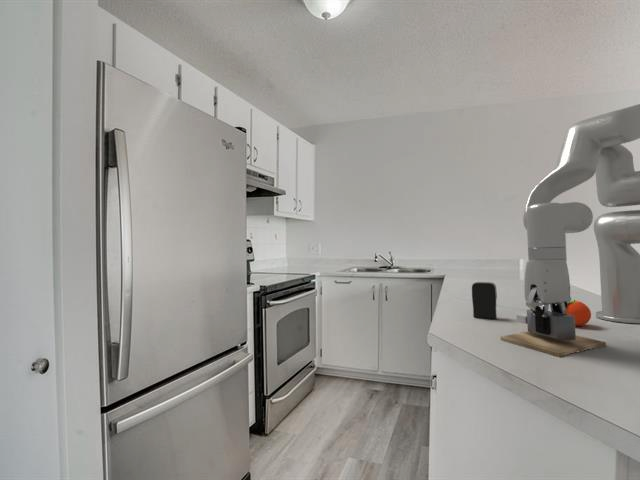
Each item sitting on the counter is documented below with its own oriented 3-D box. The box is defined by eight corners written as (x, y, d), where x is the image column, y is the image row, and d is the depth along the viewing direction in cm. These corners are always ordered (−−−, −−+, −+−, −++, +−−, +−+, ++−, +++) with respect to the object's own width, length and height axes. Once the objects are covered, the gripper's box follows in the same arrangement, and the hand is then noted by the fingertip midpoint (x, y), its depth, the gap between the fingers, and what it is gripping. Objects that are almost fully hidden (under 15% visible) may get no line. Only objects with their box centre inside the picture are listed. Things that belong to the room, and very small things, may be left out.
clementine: (572, 329, 88) (570, 303, 89) (550, 323, 95) (549, 299, 95) (598, 327, 90) (597, 301, 90) (575, 321, 96) (574, 297, 96)
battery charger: (498, 317, 105) (497, 281, 105) (496, 320, 102) (495, 283, 102) (475, 315, 109) (473, 280, 110) (472, 317, 106) (470, 282, 106)
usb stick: (580, 338, 75) (579, 316, 75) (567, 341, 73) (566, 318, 73) (527, 326, 87) (526, 307, 87) (515, 328, 85) (514, 308, 85)
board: (544, 331, 88) (544, 327, 88) (606, 345, 75) (605, 341, 75) (500, 339, 82) (500, 336, 82) (558, 356, 69) (558, 352, 69)
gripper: (554, 253, 86) (557, 324, 85) (507, 256, 79) (510, 333, 79) (586, 253, 79) (590, 330, 78) (537, 257, 72) (541, 341, 72)
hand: (550, 331), depth 79 cm, fingers closed on usb stick, 4 cm apart
